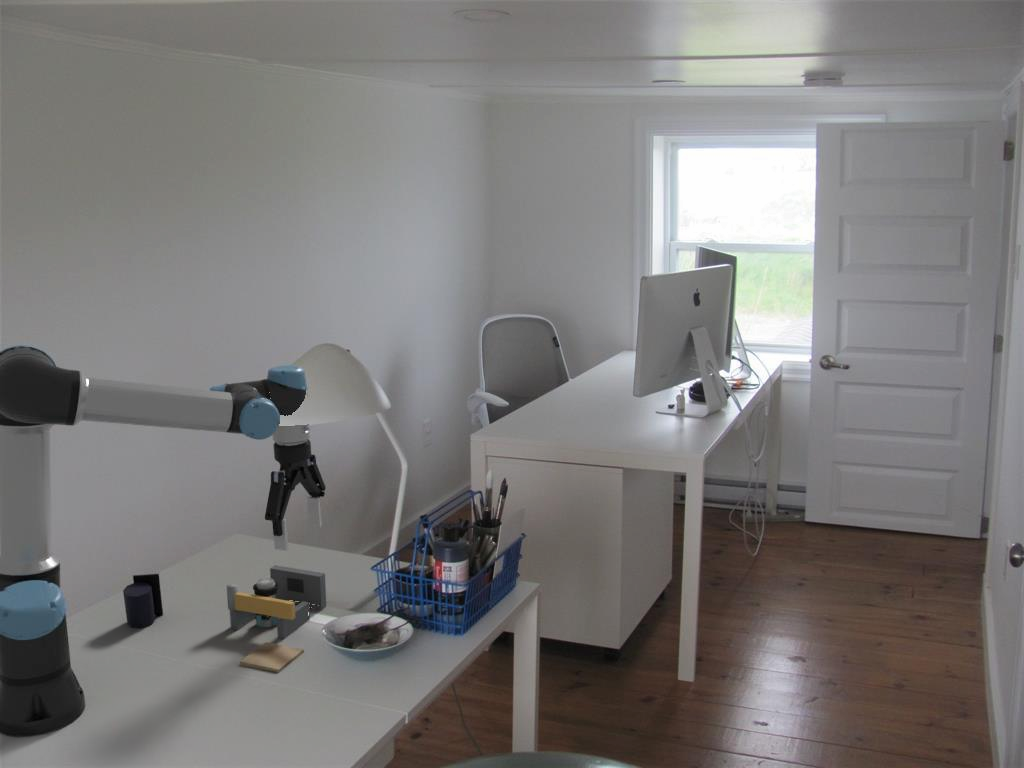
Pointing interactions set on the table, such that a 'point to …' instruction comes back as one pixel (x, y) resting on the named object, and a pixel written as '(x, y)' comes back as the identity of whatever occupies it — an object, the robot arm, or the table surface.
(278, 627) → the cradle
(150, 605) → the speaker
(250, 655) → the cork mat
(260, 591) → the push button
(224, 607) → the table surface
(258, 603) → the wooden plank
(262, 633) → the table surface
